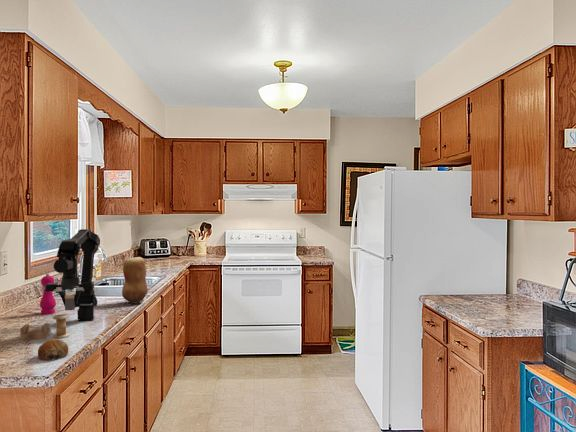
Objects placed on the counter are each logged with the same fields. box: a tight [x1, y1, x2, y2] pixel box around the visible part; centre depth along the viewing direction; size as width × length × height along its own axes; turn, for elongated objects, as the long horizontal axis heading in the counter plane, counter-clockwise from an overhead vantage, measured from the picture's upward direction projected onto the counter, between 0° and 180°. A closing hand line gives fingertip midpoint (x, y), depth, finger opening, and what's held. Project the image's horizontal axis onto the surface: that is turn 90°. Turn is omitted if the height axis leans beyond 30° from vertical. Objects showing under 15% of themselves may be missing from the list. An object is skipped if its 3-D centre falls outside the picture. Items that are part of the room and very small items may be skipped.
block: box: [64, 293, 77, 311], centre depth 218 cm, size 4×4×6 cm
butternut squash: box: [121, 256, 149, 304], centre depth 277 cm, size 14×13×25 cm
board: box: [20, 322, 52, 341], centre depth 209 cm, size 9×11×4 cm
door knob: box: [52, 313, 70, 339], centre depth 207 cm, size 6×6×8 cm
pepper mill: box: [39, 272, 57, 316], centre depth 251 cm, size 7×7×20 cm
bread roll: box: [37, 338, 69, 361], centre depth 181 cm, size 10×10×8 cm
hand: (70, 306), depth 218 cm, fingers closed on block, 3 cm apart
